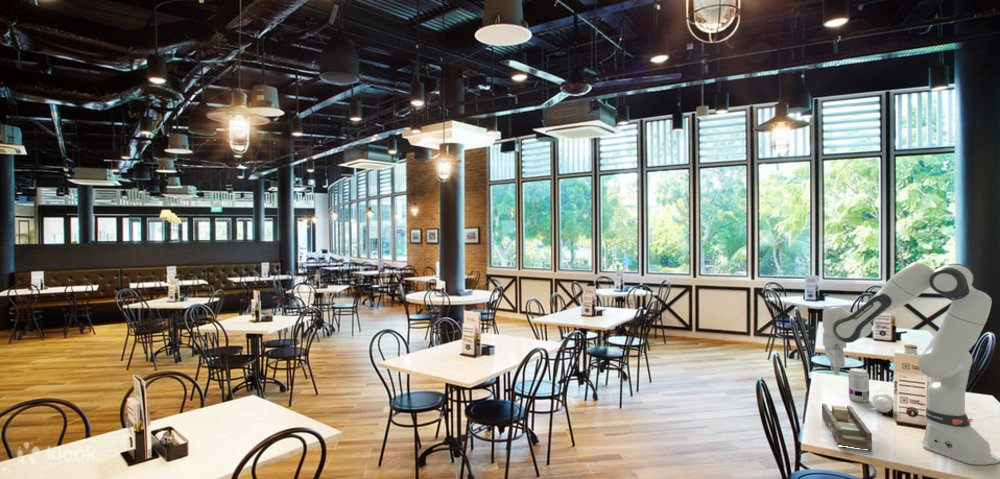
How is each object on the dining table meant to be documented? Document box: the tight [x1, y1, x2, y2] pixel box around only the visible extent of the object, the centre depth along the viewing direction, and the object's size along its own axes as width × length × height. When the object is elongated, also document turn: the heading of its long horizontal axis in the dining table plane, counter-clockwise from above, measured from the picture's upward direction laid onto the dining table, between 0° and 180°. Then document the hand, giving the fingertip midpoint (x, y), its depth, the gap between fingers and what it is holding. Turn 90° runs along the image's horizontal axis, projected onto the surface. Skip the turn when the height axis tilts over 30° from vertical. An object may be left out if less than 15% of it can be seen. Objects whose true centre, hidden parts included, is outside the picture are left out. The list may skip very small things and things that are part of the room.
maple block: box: [831, 404, 848, 419], centre depth 218 cm, size 5×5×4 cm
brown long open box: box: [821, 403, 873, 451], centre depth 210 cm, size 32×11×7 cm, turn 157°
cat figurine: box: [867, 391, 894, 414], centre depth 235 cm, size 9×11×12 cm
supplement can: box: [848, 367, 870, 403], centre depth 249 cm, size 8×8×15 cm
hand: (835, 372), depth 225 cm, fingers open, 4 cm apart
